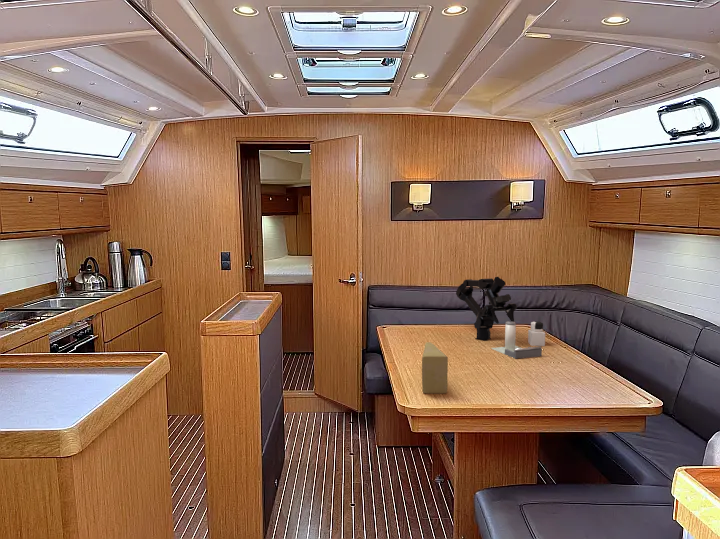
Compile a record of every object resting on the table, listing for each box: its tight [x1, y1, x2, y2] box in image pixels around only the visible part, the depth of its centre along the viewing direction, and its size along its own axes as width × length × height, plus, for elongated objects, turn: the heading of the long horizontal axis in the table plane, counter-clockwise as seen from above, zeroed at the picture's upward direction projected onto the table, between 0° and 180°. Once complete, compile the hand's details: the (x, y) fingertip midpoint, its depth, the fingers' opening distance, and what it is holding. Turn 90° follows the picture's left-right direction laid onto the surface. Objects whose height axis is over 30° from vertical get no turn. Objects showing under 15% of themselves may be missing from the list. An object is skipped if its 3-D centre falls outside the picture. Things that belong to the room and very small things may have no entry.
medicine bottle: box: [527, 321, 546, 347], centre depth 259 cm, size 7×7×12 cm
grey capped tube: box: [504, 320, 517, 351], centre depth 247 cm, size 5×5×14 cm
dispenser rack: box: [504, 346, 543, 360], centre depth 238 cm, size 8×15×5 cm, turn 109°
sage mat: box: [490, 345, 522, 355], centre depth 248 cm, size 11×15×1 cm
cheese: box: [421, 341, 449, 394], centre depth 195 cm, size 22×10×15 cm, turn 179°
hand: (505, 322), depth 250 cm, fingers open, 9 cm apart
